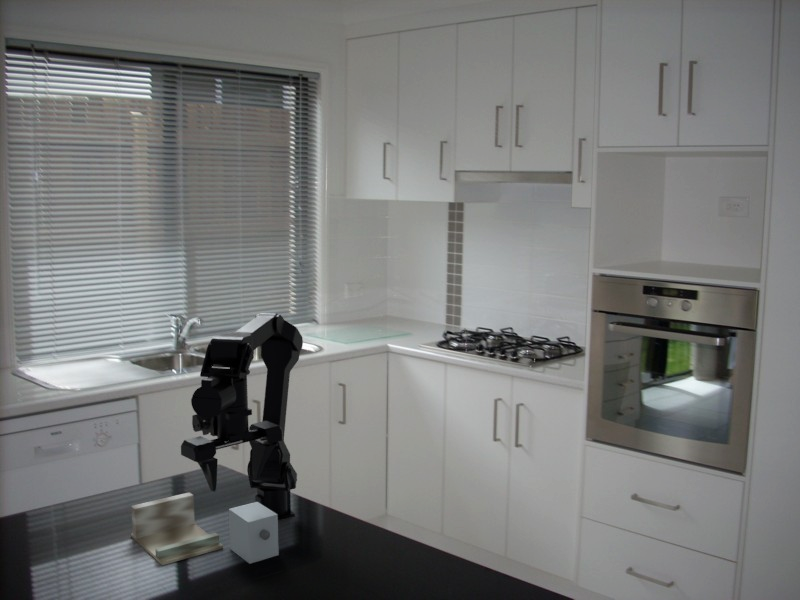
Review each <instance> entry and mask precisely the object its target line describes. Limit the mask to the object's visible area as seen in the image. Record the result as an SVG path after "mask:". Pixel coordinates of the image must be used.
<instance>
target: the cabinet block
mask: <svg viewBox="0 0 800 600" xmlns="http://www.w3.org/2000/svg"><path fill="white" fill-rule="evenodd" d="M228 523H229V524H228V526H229V527H228V529H229V530H228V531H229V549H230V550H231V551H232V552H234V553H235V554H237V555H238V556H239V557H240V558H242V559H243V560H244V561H245V562H246V563H248V564H253V563H257V562H260V561H264V560H267V559H269V558H274V557H276V556H279V555H280V554H279V553H280V552H279V520H278V514H276V513H274V512H273V511H271V510H270V509H268V508H267V507H265V506H263V505H262V504H260V503H259V502H251V503H247V504H244V505H243V504H242V505H239V506H235V507H232V508H228Z"/></svg>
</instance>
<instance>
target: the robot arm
mask: <svg viewBox="0 0 800 600" xmlns="http://www.w3.org/2000/svg"><path fill="white" fill-rule="evenodd" d="M303 344H304V340H303V336H302V334H301V332H300V331H299V329H298V328H297V326H295V325H293V324H292V323H290V322H289V321H287V320H285V318H284V317H283V316H282V315H281V314H279V313H272V312H271V313H270V312H260V313H257V314H255V317H254V318H253V319H251V320H250V321H249V322H247V323H246V324H245V325H243V326H241V327H240V328H239V329H237V330H236V331H234V332H229V333H228V332H227V333H221V334H217V335H214V336H213V337H212V338H211V339H210V342H209V343H208V345H207V348H206V351H205V356H204V359H203V362H202V363H203V364H202V365H201V370H200V372H199V373H200V374H199V376H200V377H203V378H202V379H201V382H200V387H198V388H197V389H195V391H193V393H192V397H191V400H190V403H191V407H192V410H193V411H194V412H195V414H193V415H192V417H191V418H192V419H191V421H192V422H191V425H192V429H193V431H194V433H196V432H202V435H203V436H206V435H209V434H210V436H212V437H217V438H213V439H209V438H206V437H203V436H202V435H200V436H196V437H191V438H187V439H184V440H183V441H182V443H181V445H180V455H181V456H182V457H184V458H187V459H189V460H191V461H193V462H196V463H197V464H198V465H199V467H200V469H201V471H202V473H203V476H204V478H205V480H206V482H207V485H208V487H209V489H210V491H211V492H213V493H214V492H216V490H217V483H218V482H217V481H218V461H219V460H218V458H217V457H215V456H216V454H217V450H220V449H224V448H228V447H232V446H236V445H237V446H238V445H241V444H244V443H249V445H250V451H249V461H248V463H247V469H246V471H247V477H248V481H249V487H250V489H256V494H255V496H254V497H255V498H254V500H255V502H259V503H260V504H262V505H263V506H265V507H267V508H268V509H270V510H271V511H273V512H274V513H276V514H278V521H279V520H282V519H285V518H286V519H287V518H289V517H293V516H296V513H295V511H293V510H292V505H291V502H292V501H291V499H292V498H291V496H292V495H291V490H295V489H296V488H297V481H298V478H297V477H298V473H297V472H296V470H295V469H294V467H293V465H292V463H291V452H290V451H289V449H288V447H287V445H286V443H285V429H286V417H287V411H288V409H287V408H288V399H289V398H288V397H289V387H290V375H291V371H292V370H293V368H294V366H295V365H296V364H297V363H298V362H299V360H300V356H301V355H300V353H301V350H302V349H303ZM257 348H260V357H261V359H262V361H263V363H264V365H265V367H266V380H265V390H264V399H263V410H262V411H263V412H262V420H261V421H260V422H254V423H252V424H250V425H249V416H252V415H253V411H252V410H253V409H251V408H249V405H248V404H249V403H248V402H249V400H248V399H249V397H248V396H249V395H248V377H247V376H249V375H250V373H251V371H250V366H251V363H252V361H253V360H254V359H255V357H254V356H255V355H254V353H255V352H254V351H255V350H256V349H257Z"/></svg>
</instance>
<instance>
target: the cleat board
mask: <svg viewBox="0 0 800 600" xmlns="http://www.w3.org/2000/svg"><path fill="white" fill-rule="evenodd" d="M194 498H195V497H194V494H192V493H191V492H190V491H189V492H185V493H181V494H175V495H173V496H168V497H163V498H159V499H155V500H150V501H146V502H142V503H138V504H134V505H131V506H130V508H131V509H130V510H131V511H130V513H131V528H132V531H131V532H132V533H130V537H131V539H133V540H134V541H135V542H136V543H137V544H138V545H140V546H141V548H142V549H144V550H145V551H146V552H147V553H148V554H150V556H152V557H153V558H154V559H155V560H156V561H157V562H158V563H159V564H160V565H161V566H164V565H169V564H171V563H175V562H178V561H182V560H186V559H190V558H193V557H196V556H200V555H203V554H207V553H211V552H214V551H218V550H221V549H223V548H224V547H223V546H224V545H223V544H222V543H221V542H220V534H218V532H213V533H208V532H206V530H204V529H202V528H201V527H200V526H199V525H197V524H196V523H195V522H196V521H195V501H194V500H195V499H194Z"/></svg>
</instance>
